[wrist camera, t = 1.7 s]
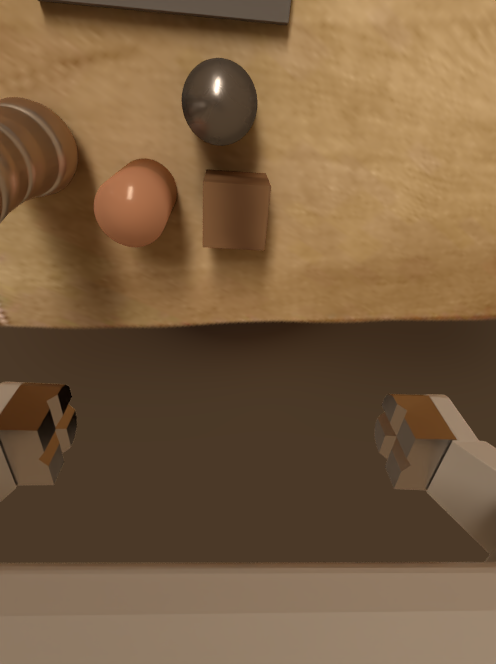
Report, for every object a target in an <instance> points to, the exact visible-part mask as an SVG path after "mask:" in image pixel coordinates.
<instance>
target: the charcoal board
mask: <svg viewBox="0 0 496 664" xmlns="http://www.w3.org/2000/svg"><path fill="white" fill-rule="evenodd" d="M38 1H45V2H56V3H66V4H76V5H86V6H96V7H107V8H117V9H127V10H137V11H147V12H157V13H168V14H178V15H188V16H198V17H208V18H219V19H229V20H239V21H249V22H259V23H270V24H280V25H287V24H288V23H289V14H290V4H291V0H38Z"/></svg>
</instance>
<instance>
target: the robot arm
mask: <svg viewBox="0 0 496 664" xmlns="http://www.w3.org/2000/svg"><path fill="white" fill-rule="evenodd" d="M71 398H72V395H71V390H70V387H69V386H68V385H66V384H47V383H28V382H27V383H26V382H25V383H20V382H19V383H18V382H3V383H1V384H0V502H1V501H2V500H3V499H4V498H5V497H6V496H8V495H9V494H10V493H11V492H12V491H13V490H14V489H16V485H54V484H55V481H56V479H57V477H58V475H59V472H60V470H61V468H62V466H63V463H64V458H63V454H62V453H63V452H65V451H66V450H68V449H69V448H70V447H71V445H72V443H73V441H74V438H75V434H76V428H77V416H76V411H75V409H74V408H72V407H71V406H70V405H69V402H70V400H71ZM382 407H383V409H384V411H385V412H384V413H383V414H381V415H380V416H379V417H377V421H376V424H375V442H376V446H377V448H378V451H379V453H380V454H381V455H383V456H384V457H385V458H386V459H387V462H386V465H385V468H386V471H387V473H388V476H389V478H390V480H391V483H392V485H393V488H394V489H408V490H427V493H428V494H429V495H430V496H431V497H432V498H433V499H434V500H435V501H436V502H437V503H438V504H439V505H440V506H441V507H443V509H444V510H446V512H447V513H448V514H449V515H451V517H452V518H453V519H454V520H455V521H457V523H458V524H460V525H461V526H462V527H463V528H464V529H465V530H466V531H467V532H468V533H469V534H470V535H471V536H472V537H473V538H474V539H475V540H476V541H477V542H478V543H479V544H480V545H481V546H482V547H483V548H484V549H485V550H486V551H487V552H488V553H489V554H490V555H489V556H488V558H487V559H486V560H485V562H321V563H320V562H318V563H317V562H311V563H309V562H307V563H306V562H305V563H304V562H302V563H301V562H299V563H297V562H296V563H295V562H291V563H290V562H288V563H0V664H496V448H495V447H493V446H492V445H490V444H488V443H487V442H485V441H479V440H478V439H477V437H476V436H475V435H474V433H473V432H472V430H471V429H470V428H469V426H468V425H467V423H466V422H465V420H464V419H463V418H462V416H461V415H460V413H459V412H458V410H457V409H456V407H455V406H454V405H453V403H452V402H451V400H450V399H449V398H448V397H447V396H445V395H435V394H433V395H432V394H425V395H413V394H387V395H386V397H385V398H384V400H383V403H382Z"/></svg>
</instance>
